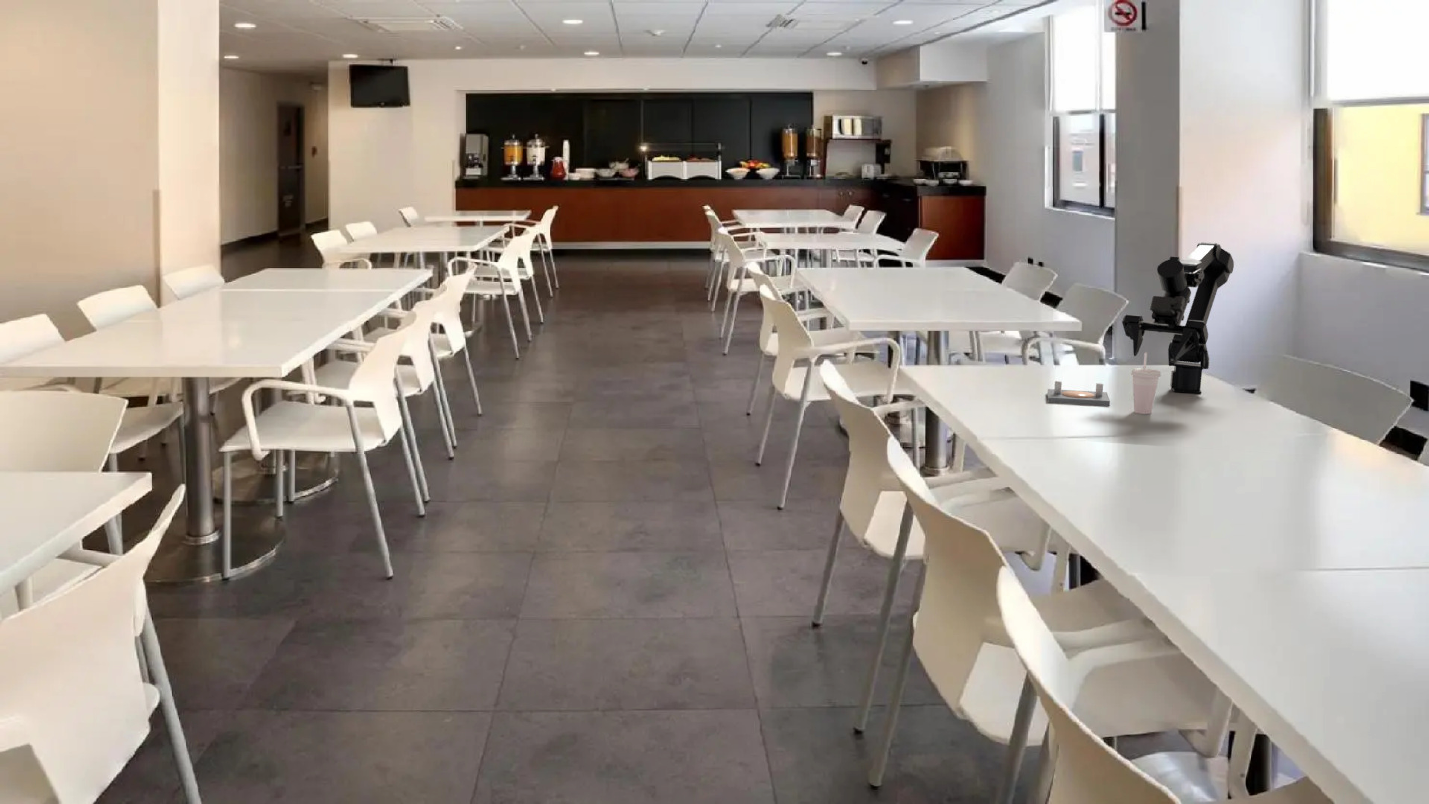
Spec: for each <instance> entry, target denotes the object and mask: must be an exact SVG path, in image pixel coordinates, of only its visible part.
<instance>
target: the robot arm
mask: <svg viewBox="0 0 1429 804" xmlns="http://www.w3.org/2000/svg"><path fill="white" fill-rule="evenodd" d="M1234 265H1235V261H1234V259H1233V256H1232V254H1231V253H1230V252H1229V251H1226V250H1225V249H1224V248H1222V246H1221V244H1219V243H1217V242H1204V241H1202V242H1199V243H1197V246H1196V248H1195V249H1194V250H1192V252H1191V253H1190V254H1189V255H1188V256H1187V257H1186V258H1185V259H1180V256H1172V255H1171V256H1170V257H1169V259H1167V260H1164V261H1162V262H1161V263H1160V264H1159V265H1157V269H1156V272H1157V275H1158V280H1159V284H1160V287H1161V290H1162V291H1164V294H1163V295H1161V296H1160V295H1159V296H1157V295H1153V296H1152V299H1151V303H1150V308H1149V310H1150V311H1151V312H1152V313H1151V319H1152V320H1154V321H1145V320H1144V319H1143V315H1141V314H1140V315H1139V314H1129V313H1128V314H1126V315H1124V316H1123V318H1122V320H1121V323H1122V327H1123V330H1124V333H1125V336H1126V337H1128V338H1129V339H1130V340H1132V349H1133V350H1132V351H1133V356H1134V357H1137V356H1138V353H1139V351H1140V349H1141V346H1142V344H1143V340H1144V339H1143V337H1144V335H1145V331H1147V332H1157V333H1162V334H1168V335H1169V334H1170V335H1173V338H1172V339H1171V341H1170V343H1169V345H1168V350H1167V351H1168V352H1167V353H1168V367H1174V368H1173V370H1171V373H1170V385H1169V386H1170V388H1171V390H1172V391H1173V392H1174V393H1191V394H1202V390H1201V385H1202V375H1203V370H1209V368H1210V355H1209V350H1208V347H1207V342H1208V338H1209V332H1208V327H1207V323H1208V320H1209V317H1210V313H1211V311H1212V307H1213V306H1214V305H1213V304H1214V301H1215V298H1216V295H1217V291H1218V290H1219V289H1220V288H1221V287H1222V286H1224V285H1225V284H1226V283H1227V282H1228V280H1229V278H1230V275H1231V274H1233V271H1234V267H1235V266H1234ZM1190 288H1197V289H1196V291H1195V295H1194V297H1193V301H1192V304H1191V307H1190V310H1189V313H1188V316H1187V319H1186V321H1185V322H1186V323H1185V325H1181V323H1182V321H1183V322H1184V320H1185V313H1186V312H1185V311H1186V309H1187V306H1188V304H1190V301H1191V299H1190V298H1191V295H1192V291H1191V289H1190Z"/></svg>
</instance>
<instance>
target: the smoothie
mask: <svg viewBox="0 0 1429 804" xmlns="http://www.w3.org/2000/svg"><path fill="white" fill-rule="evenodd" d="M1143 353H1144V354H1143V366H1142V368H1134V369H1132V370H1131V373H1130V375H1131V376H1132V391H1133V392H1132V393H1133V395H1132V396H1133V410H1134V411H1133V412H1134V413H1135V414H1141V415H1149V414H1151V413H1152V410H1153V405H1154V401H1155V398H1156V393H1157V392H1156V391H1157V387H1158V384H1159V378H1160V377H1161V375H1162V374H1161V371H1160V370H1158V369H1152V368H1147V360H1148V359H1147V358H1148V352H1147V351H1145V352H1143Z"/></svg>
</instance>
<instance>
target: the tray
mask: <svg viewBox="0 0 1429 804" xmlns="http://www.w3.org/2000/svg"><path fill="white" fill-rule="evenodd" d="M1062 383H1063V381H1061V380H1055V381H1054V387H1053V388H1047V393H1046V394H1047V402H1048V403H1051V404H1053V403H1054V404H1071V405H1087V406H1104V407H1110V405H1111V404H1110V403H1111V400H1110V397H1109V394H1108V392H1107V391H1106V392H1105V391H1104V383H1102V382H1101V383H1100V382H1097V383H1095V391H1089V390H1076V389H1075V390H1071V389H1062Z"/></svg>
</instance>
